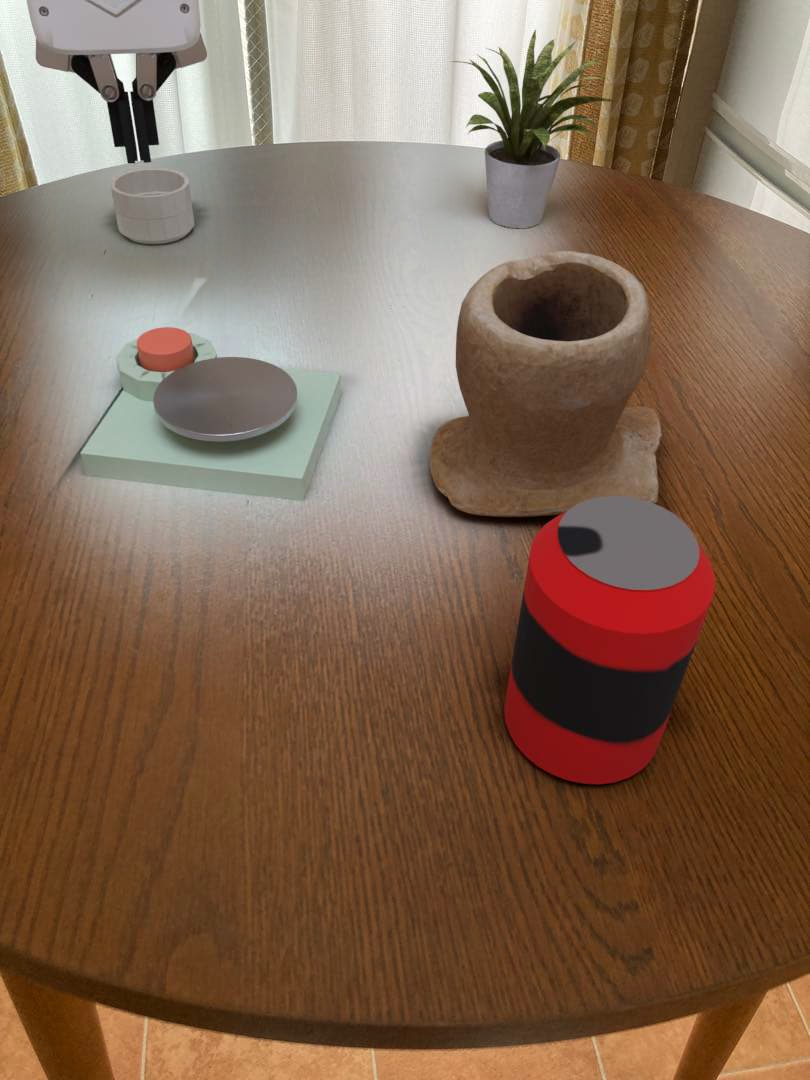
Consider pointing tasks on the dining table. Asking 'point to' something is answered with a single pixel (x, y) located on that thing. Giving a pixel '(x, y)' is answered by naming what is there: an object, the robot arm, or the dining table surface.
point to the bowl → (153, 205)
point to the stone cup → (549, 390)
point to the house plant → (526, 136)
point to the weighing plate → (225, 399)
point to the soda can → (605, 637)
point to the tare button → (165, 349)
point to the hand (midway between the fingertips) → (138, 155)
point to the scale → (224, 466)
